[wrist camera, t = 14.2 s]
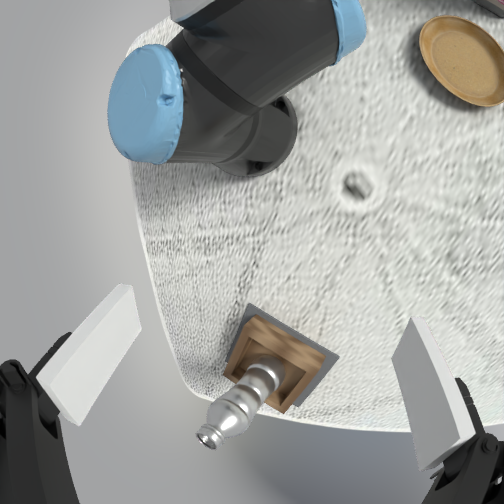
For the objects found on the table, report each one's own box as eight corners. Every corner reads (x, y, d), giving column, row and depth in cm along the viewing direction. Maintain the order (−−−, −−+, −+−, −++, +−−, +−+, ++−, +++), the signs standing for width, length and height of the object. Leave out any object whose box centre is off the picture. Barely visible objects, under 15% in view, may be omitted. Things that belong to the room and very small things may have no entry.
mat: (226, 360, 54) (224, 361, 53) (249, 302, 47) (248, 303, 47) (299, 406, 48) (298, 407, 48) (339, 356, 41) (339, 357, 41)
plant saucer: (481, 132, 23) (487, 128, 21) (400, 59, 26) (400, 52, 24) (519, 73, 16) (525, 68, 14) (443, 9, 18) (445, 0, 16)
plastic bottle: (262, 378, 48) (198, 450, 31) (252, 349, 47) (180, 419, 31) (293, 380, 45) (233, 462, 28) (284, 349, 44) (215, 431, 27)
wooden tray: (234, 363, 52) (222, 374, 49) (256, 314, 47) (244, 325, 43) (292, 400, 48) (283, 414, 44) (326, 355, 42) (318, 370, 38)
